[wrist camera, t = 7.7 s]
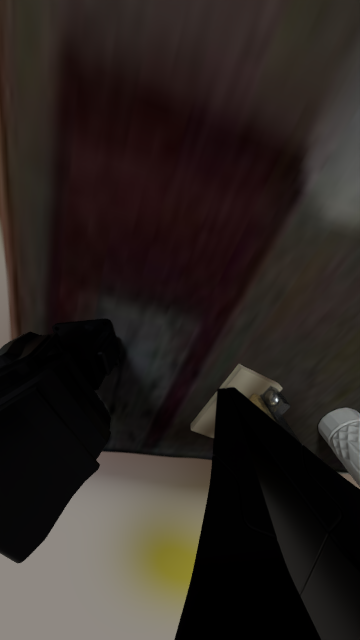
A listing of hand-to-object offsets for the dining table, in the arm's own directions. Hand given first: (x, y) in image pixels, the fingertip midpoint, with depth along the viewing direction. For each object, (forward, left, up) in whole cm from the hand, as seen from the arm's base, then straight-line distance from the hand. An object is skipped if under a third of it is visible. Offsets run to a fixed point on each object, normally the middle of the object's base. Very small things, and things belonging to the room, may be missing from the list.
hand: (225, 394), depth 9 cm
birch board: (+5, -15, -13) cm, 21 cm away
